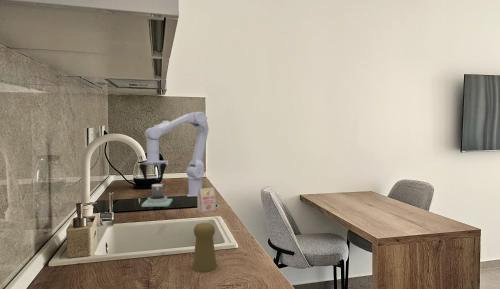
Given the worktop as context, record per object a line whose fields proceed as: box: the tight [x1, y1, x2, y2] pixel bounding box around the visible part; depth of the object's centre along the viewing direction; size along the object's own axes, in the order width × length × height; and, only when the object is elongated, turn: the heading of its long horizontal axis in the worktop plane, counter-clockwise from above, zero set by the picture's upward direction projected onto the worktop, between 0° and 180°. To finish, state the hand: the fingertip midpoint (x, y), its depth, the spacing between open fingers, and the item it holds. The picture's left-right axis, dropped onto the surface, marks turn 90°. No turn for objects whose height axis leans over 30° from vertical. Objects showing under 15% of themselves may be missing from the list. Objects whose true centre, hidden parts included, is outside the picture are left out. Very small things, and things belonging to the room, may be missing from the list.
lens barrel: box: [151, 183, 164, 199], centre depth 162 cm, size 5×5×8 cm
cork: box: [192, 222, 218, 273], centre depth 86 cm, size 6×6×11 cm
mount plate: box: [141, 198, 174, 208], centre depth 162 cm, size 12×12×1 cm
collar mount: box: [147, 195, 168, 204], centre depth 162 cm, size 9×9×2 cm
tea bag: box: [196, 186, 217, 214], centre depth 146 cm, size 4×7×10 cm, turn 119°
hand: (153, 179), depth 169 cm, fingers open, 7 cm apart
